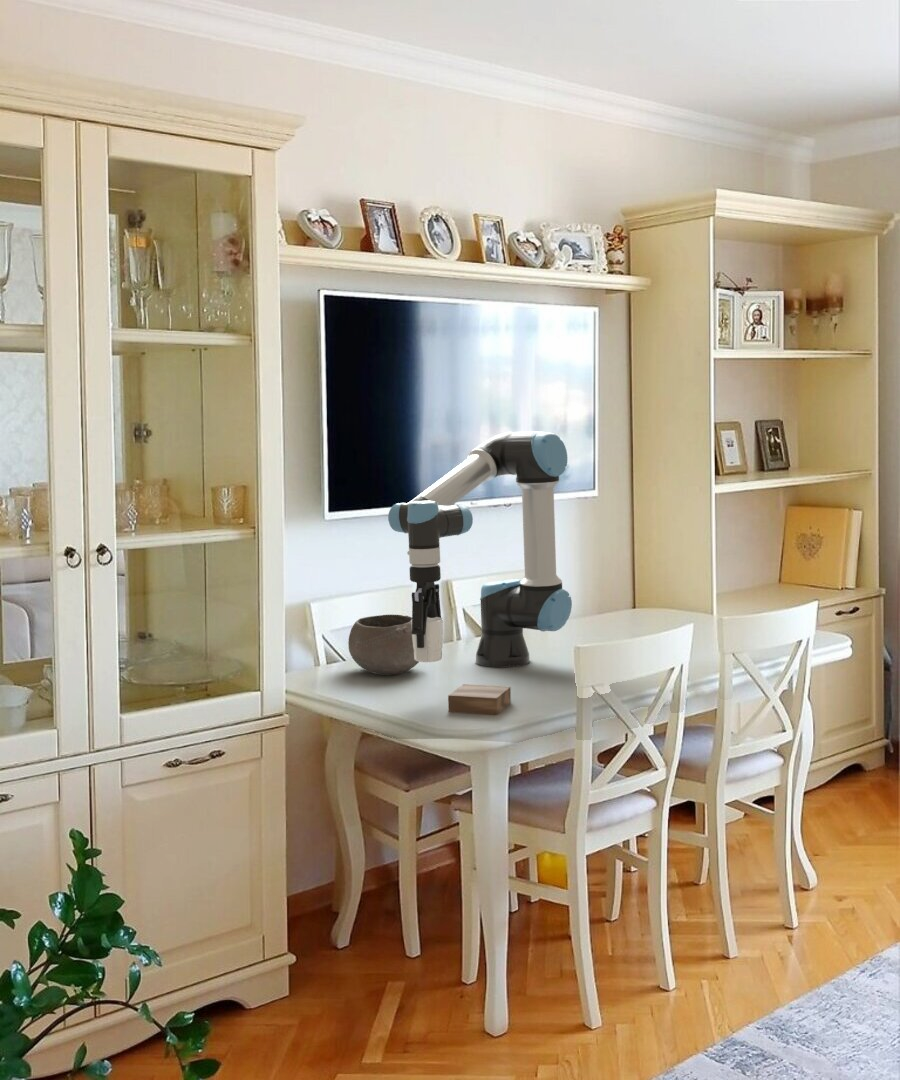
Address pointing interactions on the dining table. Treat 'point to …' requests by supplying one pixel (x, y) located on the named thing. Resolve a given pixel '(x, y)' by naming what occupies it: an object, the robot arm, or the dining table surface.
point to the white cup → (432, 639)
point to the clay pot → (383, 644)
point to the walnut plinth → (479, 699)
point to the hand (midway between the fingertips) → (428, 656)
